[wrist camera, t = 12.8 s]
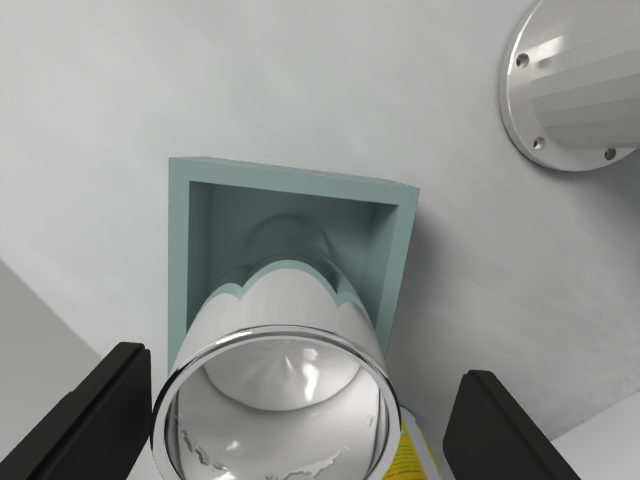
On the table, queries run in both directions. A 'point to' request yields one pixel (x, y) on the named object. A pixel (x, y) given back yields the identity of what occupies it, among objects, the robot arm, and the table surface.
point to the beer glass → (278, 373)
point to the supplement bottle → (412, 454)
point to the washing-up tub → (273, 202)
